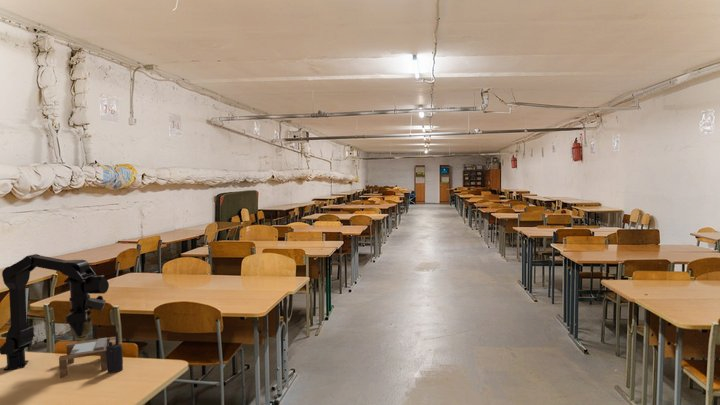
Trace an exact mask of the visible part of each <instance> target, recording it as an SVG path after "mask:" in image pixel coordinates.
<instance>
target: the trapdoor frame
mask: <svg viewBox="0 0 720 405" xmlns="http://www.w3.org/2000/svg"><path fill="white" fill-rule="evenodd" d="M106 338H107V346H106V349H103V350H96V351H90V352H83V353H77V354H70V353H71V351H72V349H73V347H74V346H75V344H81V343H88V342H95V341H98V339H99V338H97V339H90V340H84V341H75V342H69V343H68V342H67V344H66V355H60V356H59V357H58V366H59V367H58V368H59V378H60V379H62V378H63V379H65V378H67V377H68V376H69V375H68V365H70V364H74V363H75V359H78V358H79V359H80V358H85V357H92V356H98V355H100V356H99V357H100V358H99V359H100V371H101V372H104V371H107V358H106V350H107V347H108V346H109V342H112V345H113V344H116V336H111V337H106Z"/></svg>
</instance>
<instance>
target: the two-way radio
mask: <svg viewBox="0 0 720 405" xmlns="http://www.w3.org/2000/svg"><path fill="white" fill-rule="evenodd" d="M114 333H115V334H114V335H115V336H114V337H116V342H115V344H113V345H112V342H109V346H108V347H107V350H106V358H107V370H106V371H107V373H109V374H111V373H116V372H120V371H122V370H123V369H124V365H123V364H124V359H123V358H124V356H123V354H124V350H123V346H122V344H120V342H119V332H118V330H116V331H115V332H114Z"/></svg>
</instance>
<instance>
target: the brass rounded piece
mask: <svg viewBox="0 0 720 405" xmlns="http://www.w3.org/2000/svg"><path fill="white" fill-rule="evenodd" d="M92 323H93V318H92V317H89V316H87V320H86V321H85V322H84V323H83V330H82V336H81V337H78V336H77V334H76V333H75V331H74V329H73V328H72V327H71V325H70V324H69V328H70V332H71V335H72V336H73V337H74V338H76V339H75V340H76V342H82V341H87V339H88V335H89V334H90V333H91V331H92V325H93V324H92Z"/></svg>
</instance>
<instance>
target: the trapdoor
mask: <svg viewBox="0 0 720 405" xmlns="http://www.w3.org/2000/svg"><path fill="white" fill-rule="evenodd" d="M107 338H108V337H102V338H97V339H98V341H95V342H88V343H81V344H75V346H74V347H73V349H72V351H71V353H70V354H77V353H83V352H90V351H96V350H103V349H106V346H107Z"/></svg>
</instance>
